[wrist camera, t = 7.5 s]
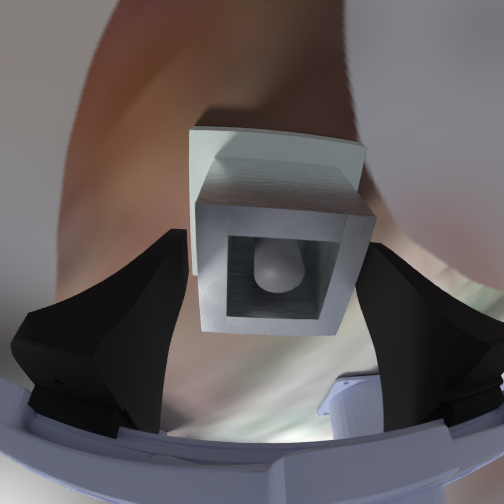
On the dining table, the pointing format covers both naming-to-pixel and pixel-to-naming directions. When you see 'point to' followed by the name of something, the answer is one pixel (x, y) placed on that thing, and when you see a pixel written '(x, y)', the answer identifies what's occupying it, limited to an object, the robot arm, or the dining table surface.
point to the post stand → (269, 148)
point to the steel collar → (278, 226)
